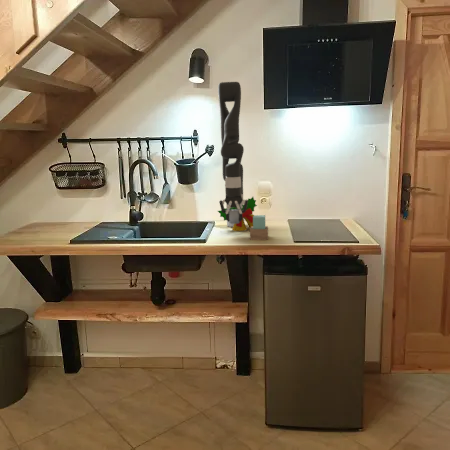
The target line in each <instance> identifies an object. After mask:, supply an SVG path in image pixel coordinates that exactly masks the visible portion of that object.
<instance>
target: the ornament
mask: <svg viewBox="0 0 450 450" xmlns="http://www.w3.org/2000/svg"><path fill="white" fill-rule="evenodd" d="M247 200H248V204H247V209H246V212H245V213H242V218H244V219H242V220H241V221H240V223H237V224H234V226H233V227H232V229H231V230H232V231H235V232H244V231H246V230H248V228H249V229H250V228H251V226H253V216H254V215H255V214H253V212H255V208H256V207H257V206H258V204H256V202H257V200H255V198H254V196H252V197H251V198H247ZM244 205H245V204H243V205H242V206H243V208H241V209H242V210H244ZM224 209H225V210H227V207H226V208H225V207H224ZM232 209H236V208H235V207H234V208H230V210H232ZM217 212H218V214H220V216H219V217H220V218H223V221H227V220H226V214H225V213H222V210H221V209H220V210H217ZM245 222H246V223H247V225H246V224H245ZM247 226H248V228H247Z"/></svg>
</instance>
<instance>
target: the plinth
mask: <svg viewBox="0 0 450 450" xmlns="http://www.w3.org/2000/svg"><path fill="white" fill-rule="evenodd" d="M268 229H269V226H268V225H265V229H253V226H251V228H249V239H250V241H263V240H264V241H269V230H268Z"/></svg>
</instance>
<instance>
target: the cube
mask: <svg viewBox="0 0 450 450" xmlns="http://www.w3.org/2000/svg"><path fill="white" fill-rule="evenodd" d="M253 215H254V216H253V229H265V226H266V214H265V215H263V214H262V215H258V214H257V215H255V214H253Z"/></svg>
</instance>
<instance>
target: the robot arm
mask: <svg viewBox="0 0 450 450" xmlns="http://www.w3.org/2000/svg"><path fill="white" fill-rule="evenodd" d="M217 85H218V86H217V96H218V104H219V105H218V106H219V114H220V115H219V116H220V138H221V149H220V156H221V157H222V179H223V180H224V182H225V184H224V188H225V199H220V200H219V206H220V210H222V213H225V214H226V220H225V221H226V226H227V227H230V228H231V227H232V228H233V226H234V224H230V223H229V210H230V208H234V207H235V208H236V209H238V210H239V213H240V214H239V221H241V220H242V219H244V218H242V213H245V212H246V209H247V204H248V199H244V167H243V164H242V159H243V154H244V150H245V149H244V146H243V144H241V143H239V142H240V114H241V113H240V112H241V101H242V88H241V84H240V82H239V81H224V82H223V81H222V82H219V83H218V84H217ZM229 102H230V103H231V102H234V103H233V106H232V109H231V110H230V111H229V109H228V108H227V103H229ZM231 159H232V160H233V159H234V160H235V161H234V162H231V163H230V162H229V161H230V160H231ZM225 203H226V205H225ZM244 204H245V205H244ZM224 205H225V206H226V208H227V210H225V209H224V208H225V206H224ZM242 205H244V210H242V209H241V208H243V206H242ZM244 220H245V219H244Z"/></svg>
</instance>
